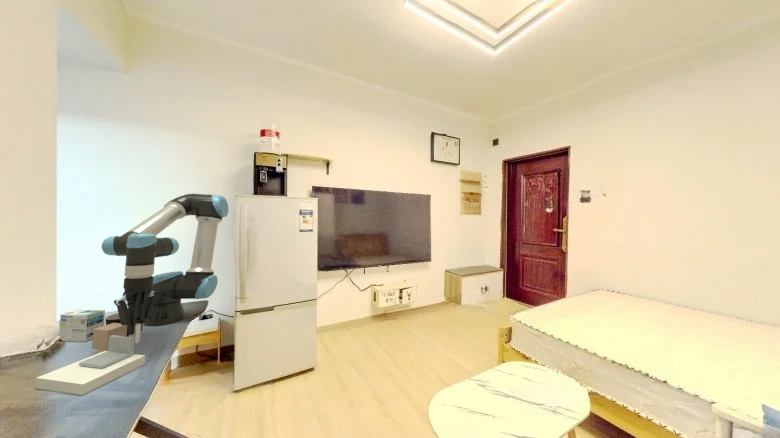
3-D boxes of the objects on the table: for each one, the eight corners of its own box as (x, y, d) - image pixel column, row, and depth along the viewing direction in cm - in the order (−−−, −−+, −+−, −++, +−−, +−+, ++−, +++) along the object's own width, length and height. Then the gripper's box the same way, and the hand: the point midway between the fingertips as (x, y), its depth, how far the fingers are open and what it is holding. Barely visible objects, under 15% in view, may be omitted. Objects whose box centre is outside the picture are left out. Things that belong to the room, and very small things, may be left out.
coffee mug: (113, 346, 96) (115, 320, 97) (97, 343, 98) (99, 317, 98) (148, 334, 108) (150, 310, 108) (133, 331, 109) (134, 308, 110)
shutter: (111, 351, 87) (113, 335, 87) (133, 354, 86) (134, 337, 86) (78, 365, 78) (80, 346, 78) (102, 368, 77) (103, 349, 77)
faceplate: (104, 359, 88) (105, 350, 88) (144, 364, 86) (145, 355, 86) (35, 388, 72) (36, 377, 72) (82, 395, 70) (83, 384, 70)
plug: (111, 347, 95) (113, 322, 96) (125, 349, 95) (127, 324, 95) (91, 355, 89) (93, 329, 90) (105, 357, 89) (107, 330, 89)
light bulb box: (104, 335, 105) (106, 309, 106) (85, 342, 99) (87, 314, 99) (77, 334, 105) (80, 308, 105) (57, 341, 98) (59, 314, 98)
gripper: (149, 272, 97) (144, 333, 96) (108, 279, 84) (102, 350, 83) (166, 273, 96) (161, 335, 96) (127, 280, 83) (121, 352, 83)
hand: (134, 342), depth 89 cm, fingers closed
